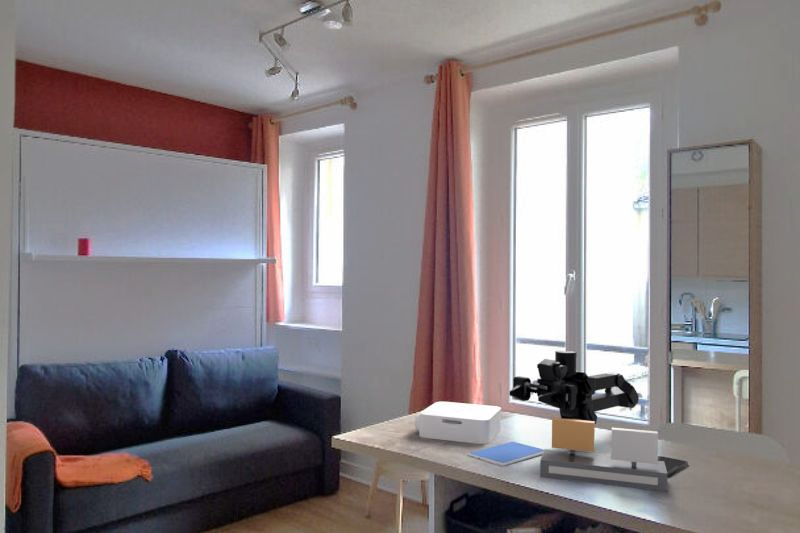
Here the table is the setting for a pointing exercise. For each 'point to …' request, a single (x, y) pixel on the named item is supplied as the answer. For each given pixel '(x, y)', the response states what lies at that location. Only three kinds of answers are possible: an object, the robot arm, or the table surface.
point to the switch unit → (602, 470)
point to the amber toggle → (573, 434)
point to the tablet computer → (507, 453)
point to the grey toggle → (634, 446)
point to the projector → (459, 422)
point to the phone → (673, 465)
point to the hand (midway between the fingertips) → (524, 396)
